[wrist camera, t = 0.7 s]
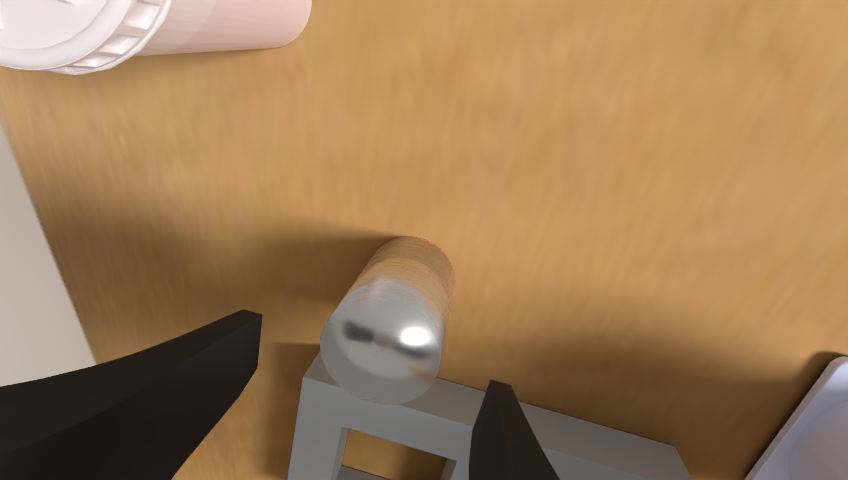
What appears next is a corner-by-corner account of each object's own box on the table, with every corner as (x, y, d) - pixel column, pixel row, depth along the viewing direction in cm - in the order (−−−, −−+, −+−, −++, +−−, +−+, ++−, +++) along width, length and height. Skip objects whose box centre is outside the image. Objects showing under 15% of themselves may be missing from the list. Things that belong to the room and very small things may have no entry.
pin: (463, 249, 18) (453, 320, 12) (441, 325, 19) (424, 418, 14) (377, 226, 18) (329, 285, 13) (361, 302, 20) (312, 385, 14)
